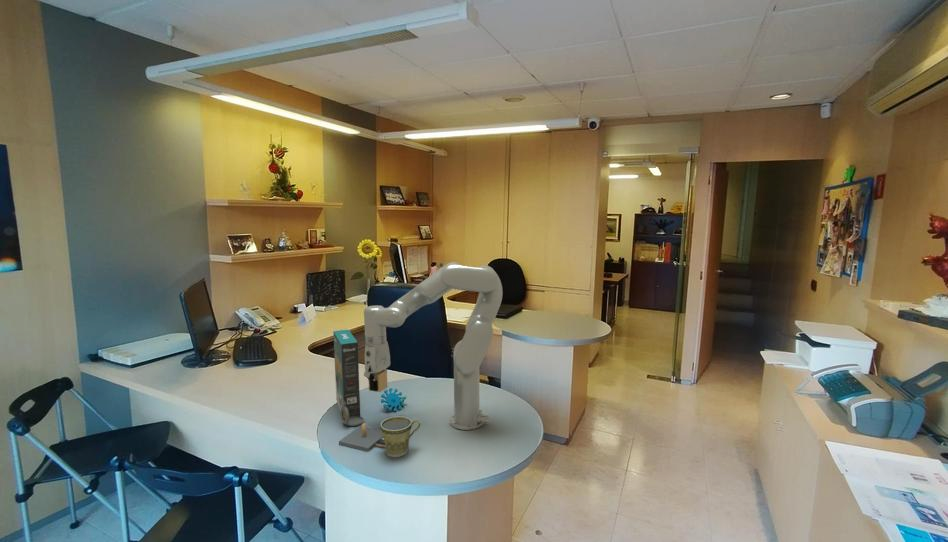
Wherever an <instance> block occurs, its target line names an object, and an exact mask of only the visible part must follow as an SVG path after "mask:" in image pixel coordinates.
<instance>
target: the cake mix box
mask: <svg viewBox="0 0 948 542" xmlns="http://www.w3.org/2000/svg"><path fill="white" fill-rule="evenodd" d="M358 345H359V344H358V341H357V339H356V338H355V336H354V335H353V334H352V333H351V331H350V329H341V330H333V349H334V350H333V351H334V355H333V356H334V375H335V377H334V379H335V380H334V381H335V397H336V398H335V399H336V402H337V405H338V407H339V410H340V412H341V407H342V406H344V402H343V400H344V401H345V402H346V407H347V409H348V411H349V418H351V417H361V405H360V404H361V401H360V399H361V397H360V393H361V392H360V370H359V368H360V367H359V365H360V364H359V346H358Z"/></svg>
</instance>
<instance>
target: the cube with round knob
mask: <svg viewBox="0 0 948 542" xmlns="http://www.w3.org/2000/svg"><path fill="white" fill-rule="evenodd" d="M372 376H374V374H372ZM367 380H368V379H367ZM376 380H377V382H378V391H375V392H377V393H382V391H383V392H384V391H385V390H387V388H388V369H387V370H382V371H381V372H379V373H377V377H376ZM367 382H369V380H368V381H367ZM368 391H370V392H372V391H371V390H370V385H369V384H368Z"/></svg>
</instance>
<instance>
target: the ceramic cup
mask: <svg viewBox="0 0 948 542" xmlns="http://www.w3.org/2000/svg"><path fill="white" fill-rule="evenodd" d="M415 424H418V426H417V427H416V429H415V430H413V432H412V433H411V430H412V428H413V426H414V425H415ZM420 427H421V423H420V422H419V421H418V420H414V421H412V420H411V419H410V418H409V417H407V416H402V415H400V416H398V415H397V416H395V415H394V416H391V417H388V418H386V419H383V420H382V421H381V423H380V430H381V431H382V435H383V438H384V441H383V442H385V444H384V445H385V452H386V455H387V456H388V457H390V458H399V457H403V456H405V454H407V453H408V449H409V444H410V439H411V437H412V436H413V435H414V434H415V433H416V432H417V431H418V429H420Z"/></svg>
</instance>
